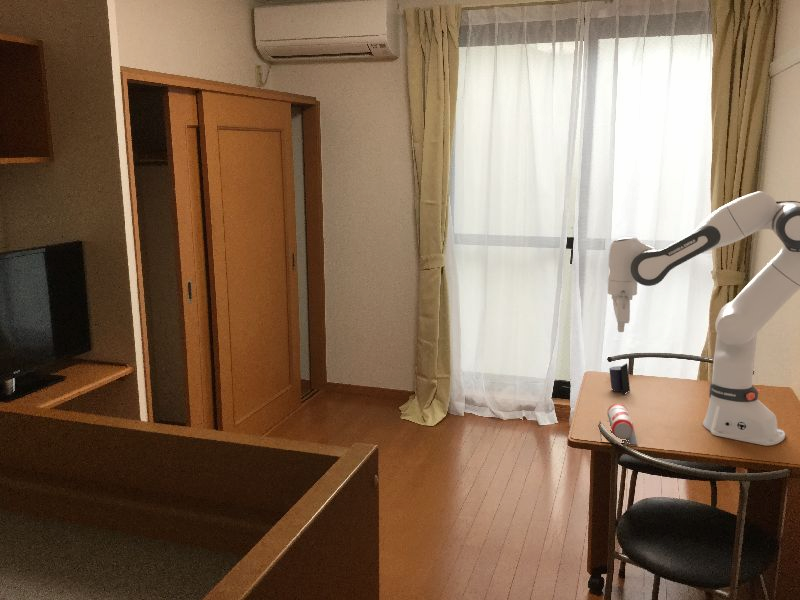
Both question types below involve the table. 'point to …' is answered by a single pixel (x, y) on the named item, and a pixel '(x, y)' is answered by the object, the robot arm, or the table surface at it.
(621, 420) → the beer can
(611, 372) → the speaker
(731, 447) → the table surface
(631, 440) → the mat
